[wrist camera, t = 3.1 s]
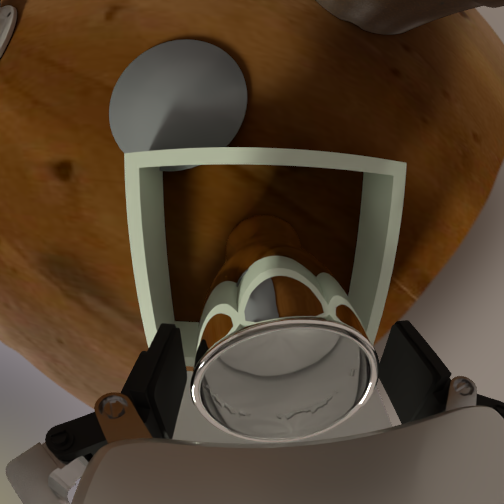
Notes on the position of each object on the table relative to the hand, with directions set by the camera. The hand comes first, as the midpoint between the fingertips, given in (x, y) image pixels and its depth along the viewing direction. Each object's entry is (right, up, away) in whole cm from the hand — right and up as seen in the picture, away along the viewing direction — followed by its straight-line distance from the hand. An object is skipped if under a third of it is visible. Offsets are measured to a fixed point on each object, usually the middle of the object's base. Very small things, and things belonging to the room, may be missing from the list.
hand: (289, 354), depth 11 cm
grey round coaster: (-7, +16, +7) cm, 19 cm away
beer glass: (-1, +4, +12) cm, 12 cm away
